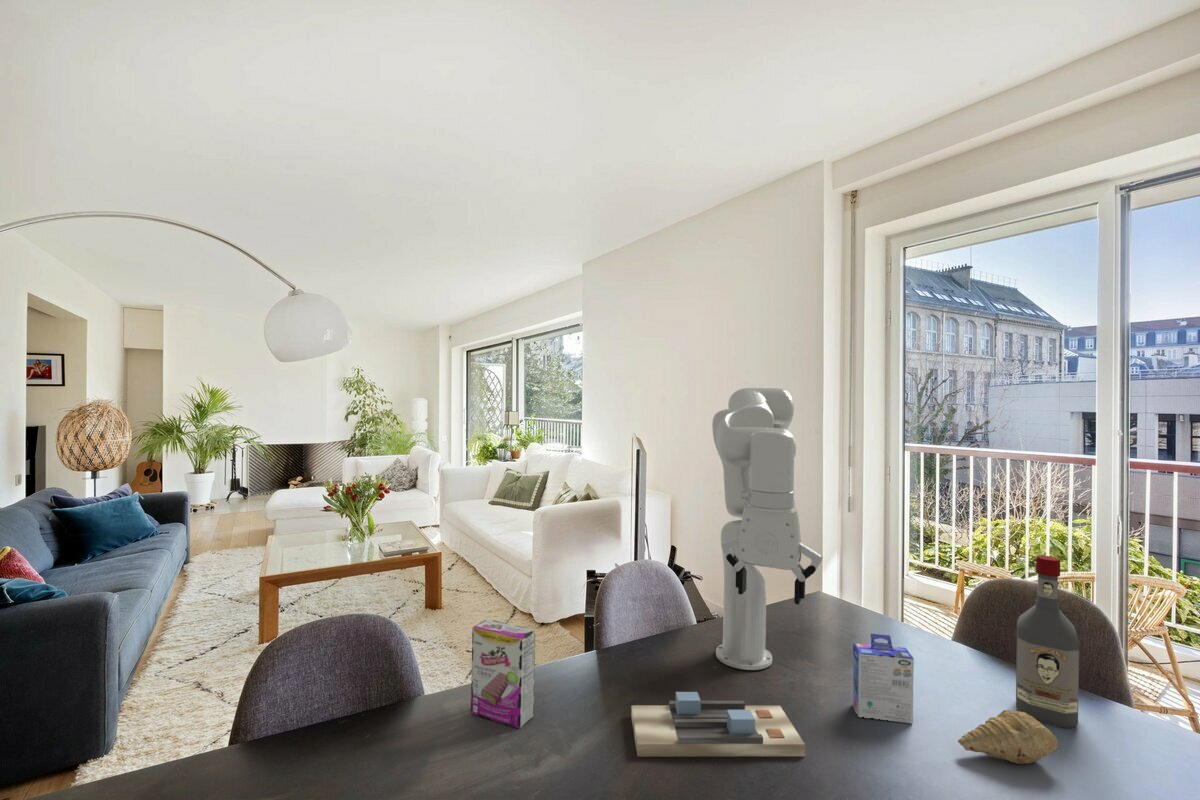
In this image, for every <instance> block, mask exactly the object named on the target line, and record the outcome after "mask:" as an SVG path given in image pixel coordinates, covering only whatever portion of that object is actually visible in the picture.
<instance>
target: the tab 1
mask: <svg viewBox="0 0 1200 800" xmlns="http://www.w3.org/2000/svg"><path fill="white" fill-rule="evenodd" d="M675 701H676V707H675V708H676V712H677V714H700V712H701V701H702V700H701V698H700V695H699V693H698V691H675Z"/></svg>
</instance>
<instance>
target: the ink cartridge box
mask: <svg viewBox="0 0 1200 800" xmlns="http://www.w3.org/2000/svg"><path fill="white" fill-rule="evenodd" d="M879 639H883V640H885V641H887V643H886V642H885V643H884V642H877V641H875V640H879ZM914 660H915V659H914V657H913V655H912V654H911V653H910V651H909V650H908V649H907V648H906V647H905V646H894V645H893V643H892V639H891V635H889V634H888V635H887V634H879V633H878V634H877V633H870V644H867V643H855V642H853V644H852V661H853V662H852V666H853V667H852V669H853V670H852V673H853V674H852V676H853V677H852V678H853V679H852V680H853V681H852V683H853V684H852V686H853V687H852V707H853V709H854V712H855V715H856V714H857V715H856V716H857V717H859V718H862V717H864V718H863V719H870V718H874V719H873V720H879V719H880V721H887V720H888V721H890V722H896V723H903V724H904V723H906V724H913V723H914V669H915V667H914V662H915V661H914Z"/></svg>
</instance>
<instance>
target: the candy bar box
mask: <svg viewBox="0 0 1200 800" xmlns="http://www.w3.org/2000/svg"><path fill="white" fill-rule="evenodd" d="M471 628H472V635H471V637H472V638H471V639H472V640H471V643H472V645H471V687H470V691H471V694H470V695H471V696H470V714H471V715H475V716H477V717H482V718H485V719H487V720H490V721H494V722H497V723H500V724H504V725H508V726H510V727H514V728H517V729H521V728H522V727H524V726H525V724H527V723H528V722H529V721H530V720H531V719H532V718H533V717H534V709H535V708H534V707H535V667H536V666H535V662H536V661H535V659H536V657H535V655H536V630H535V629H533V628H528V627H525V626H524V627H523V626H519V625H516V624H511V623H507V622H503V621H497V620H493V619H489V618H487V619H484V620H482V621H481V622H480V623H479V622H478V623H477V624H476V625H474V626H473V627H471Z"/></svg>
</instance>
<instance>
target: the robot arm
mask: <svg viewBox="0 0 1200 800" xmlns="http://www.w3.org/2000/svg"><path fill="white" fill-rule="evenodd" d="M794 412H795V405H794V399H793V397H792V395H791V394H790V393H789V392H788V391H787V390H786V389H783V388H778V387H777V388H776V387H775V388H773V387H768V388H767V387H764V388H763V387H758V388H757V387H744V388H740V389H737V390H736V391H734V392H733V393H732V394H731V395H730V397H729V399H728V408H725V409H722V410H720V411H717V412H716V413H715V414H714V416H713V418H712V424H711V426H712V427H711V428H712V437H713V441H714V445H715V447H716V448H715V449H716V451H717V453H718V456H719V458H720V461H721V465H722V469H723V484H724V486H723V487H724V488H723V489H724V501H725V508H726V510H727V513H728V514H729V515H730V516H732V517H734V518H738V519H737V520H736V519H735V520H731V521H728V522H727V523H724V525H723V527H722V528H721V531H720V545H721V553H722V560H723V561H722V562H723V608H722V609H723V611H722V612H723V613H722V614H723V616H722V620H723V621H722V622H723V623H722V643H721V644H719V645H718V646H717V647H716V649H715V656H716V659H718V661H720V662H721V663H723V664H724V665H726V666H729V667H731V668H734V669H739V670H745V671H759V670H763V669H766V668H768V667H770V666H771V665H772V664H773V655H772V653H771V651H769V650H768V649H766V639H767V638H766V636H767V635H766V631H767V582H766V580H765V578H764V576H763V574H762V573H761V572H760V570H759V569H758V568H757V567H762V568H763V567H764V568H770V569H777V570H784V571H791V572H792V573H793V575H794V576H795V577H796V578H795V581H794V591H793V593H794V597H793V599H794V600H793V601H794V602H793V603H794V604H795V605H800V603H801V602H802V600H804V599H805V597H806V581H807V579H809V577H811V576H812V575H814V574H815V572H816V571H817V569H818V568H819V567H820V564H821V563H822V562H823V559H824V558H823V557H824V556H823V555H821V554H820V553H818V552H817V551H815V550H814V549H812V548H810V547H808V546H807V545H806V544H804V543H802V542H801V541H802V539H801V526H800V519H799V513H798V510H797V509H796V501H795V497H794V493H795V492H794V491H795V489H794V486H795V481H794V480H795V457H796V451H797V446H796V445H797V443H796V442H797V441H796V439H795V437H794V435H793V434H792V433H791V432H790V431H789V430H788V429H789V426H790V425H791V423H792V420H793V417H794ZM802 555H804V557H807V558H809V559H810V560H811V563H810V564H809V565H808V566H807V567H806V568H804V566H803V565H802V564H801V563H800V562H801V559H802Z"/></svg>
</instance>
